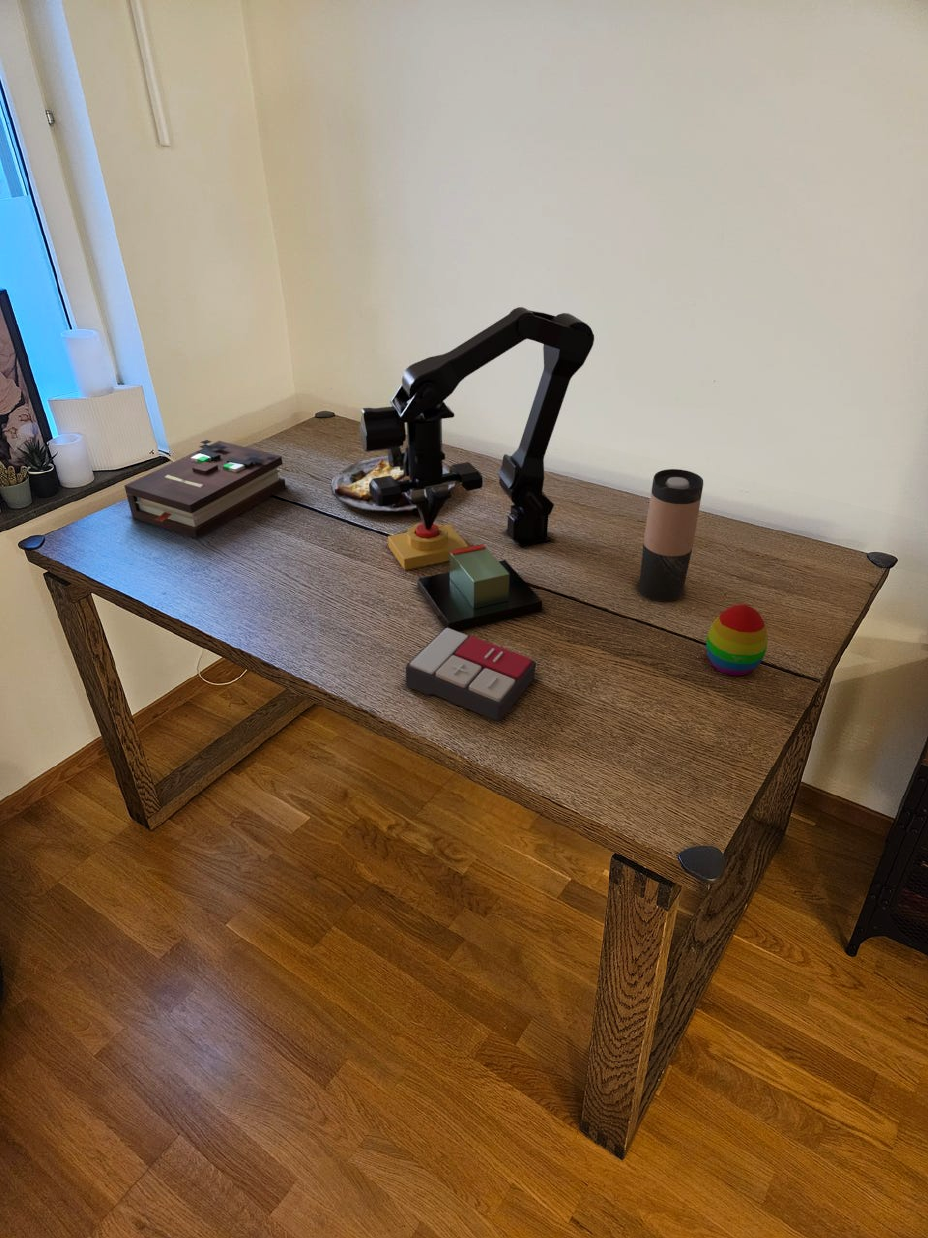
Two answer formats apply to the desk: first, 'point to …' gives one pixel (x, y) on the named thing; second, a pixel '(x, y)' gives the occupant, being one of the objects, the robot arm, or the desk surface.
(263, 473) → the decorative book
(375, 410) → the robot arm
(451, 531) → the button block
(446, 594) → the black square platform
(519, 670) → the calculator
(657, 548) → the travel mug
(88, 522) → the desk surface
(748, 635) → the decorative egg
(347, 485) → the food plate
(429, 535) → the button
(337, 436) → the desk surface
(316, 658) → the desk surface
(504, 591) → the box
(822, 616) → the desk surface
